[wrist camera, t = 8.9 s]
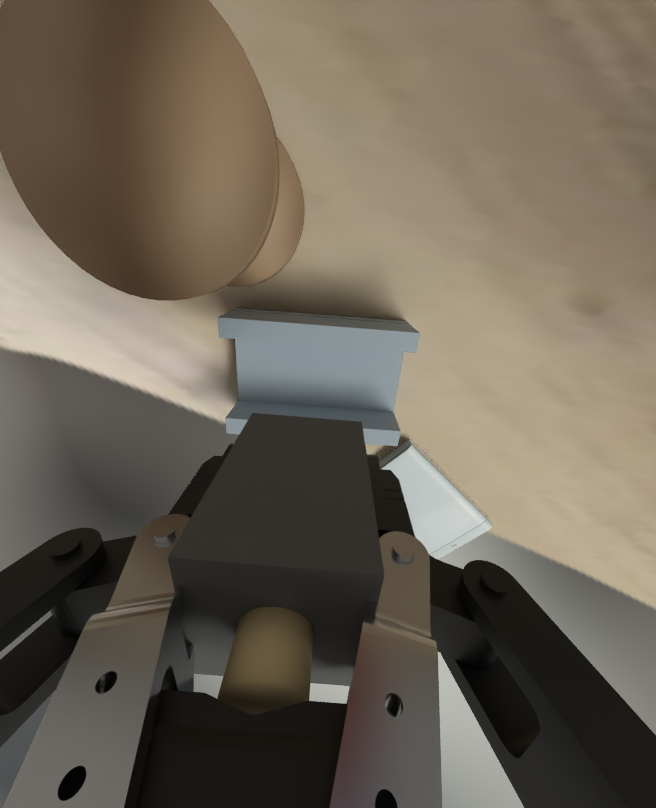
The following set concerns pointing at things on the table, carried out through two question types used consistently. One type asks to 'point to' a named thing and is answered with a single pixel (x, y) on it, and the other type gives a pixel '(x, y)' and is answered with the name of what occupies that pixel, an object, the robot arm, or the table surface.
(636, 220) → the table surface
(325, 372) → the blue-gray u-shaped channel
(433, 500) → the hard drive
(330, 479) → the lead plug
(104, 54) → the bobbin
